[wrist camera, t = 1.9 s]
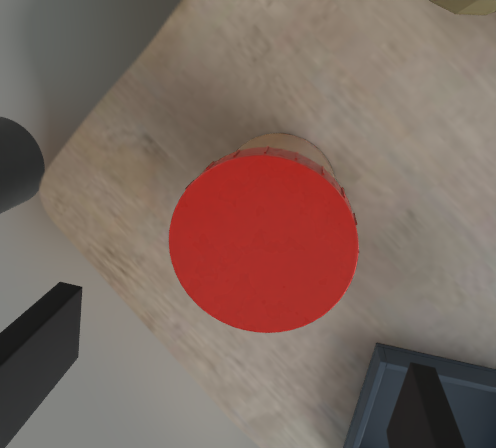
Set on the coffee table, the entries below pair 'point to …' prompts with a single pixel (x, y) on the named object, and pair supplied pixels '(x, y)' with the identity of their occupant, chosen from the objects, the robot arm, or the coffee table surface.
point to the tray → (455, 387)
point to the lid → (264, 240)
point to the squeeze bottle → (467, 6)
